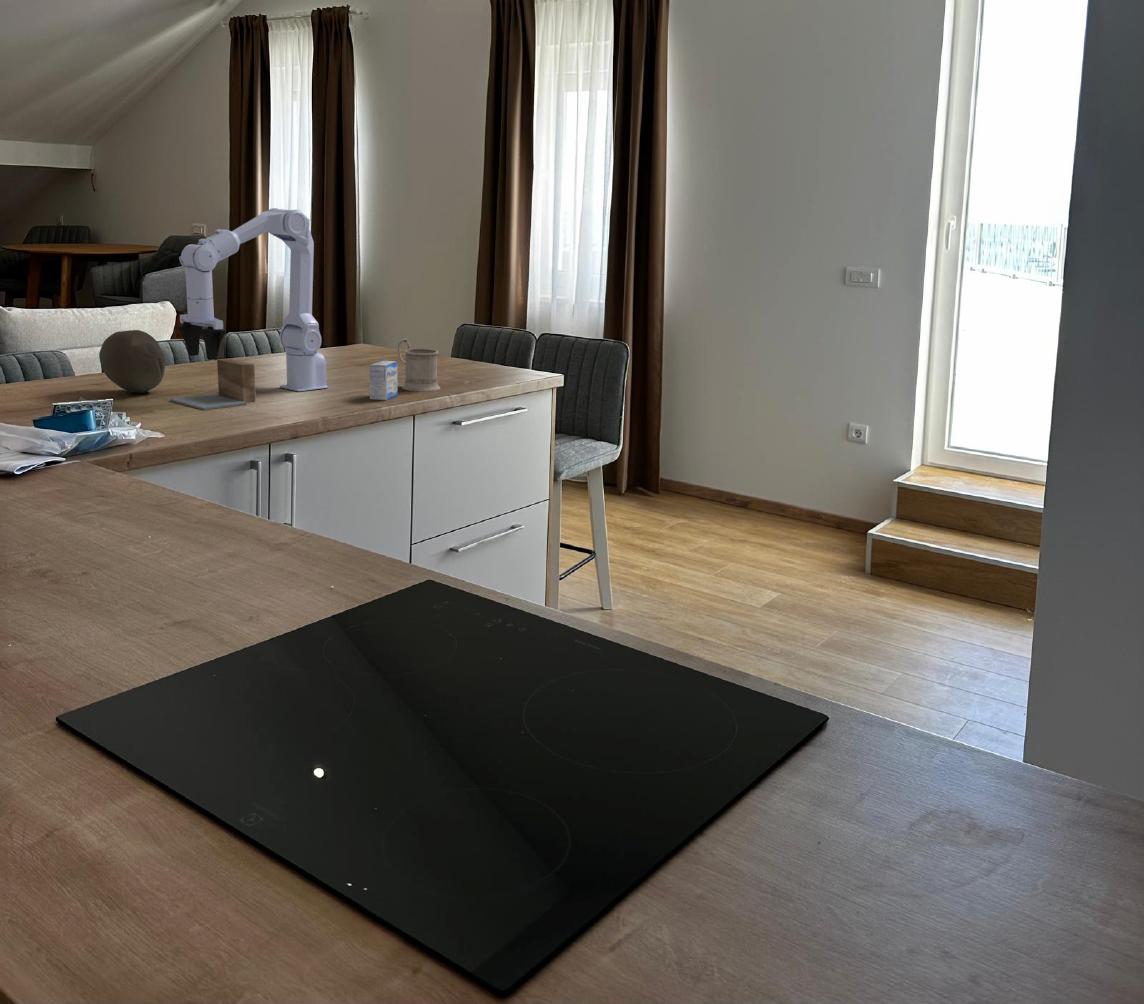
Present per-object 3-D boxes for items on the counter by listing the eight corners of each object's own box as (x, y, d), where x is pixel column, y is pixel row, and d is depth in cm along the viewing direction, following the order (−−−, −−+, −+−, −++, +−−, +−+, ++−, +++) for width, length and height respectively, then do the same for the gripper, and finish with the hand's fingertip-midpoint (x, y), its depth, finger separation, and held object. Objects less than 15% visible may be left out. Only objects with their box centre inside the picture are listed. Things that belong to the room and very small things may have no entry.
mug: (447, 389, 289) (448, 342, 286) (418, 392, 282) (418, 345, 279) (412, 381, 298) (413, 336, 295) (383, 384, 291) (383, 338, 288)
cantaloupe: (150, 386, 275) (147, 325, 271) (176, 394, 265) (173, 331, 261) (93, 391, 265) (88, 328, 261) (118, 400, 256) (113, 335, 252)
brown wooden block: (231, 395, 267) (230, 358, 265) (256, 401, 261) (254, 363, 259) (218, 397, 265) (217, 359, 262) (243, 403, 259) (241, 365, 256)
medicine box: (386, 401, 269) (386, 365, 267) (369, 399, 270) (368, 364, 268) (397, 395, 276) (397, 361, 274) (380, 394, 277) (380, 359, 275)
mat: (211, 395, 266) (211, 393, 265) (246, 404, 257) (246, 402, 257) (170, 401, 257) (170, 398, 257) (204, 410, 249) (204, 408, 249)
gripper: (166, 296, 255) (170, 355, 259) (202, 302, 246) (205, 362, 250) (194, 294, 260) (197, 352, 264) (230, 300, 252) (232, 360, 255)
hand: (202, 357), depth 257 cm, fingers open, 7 cm apart
